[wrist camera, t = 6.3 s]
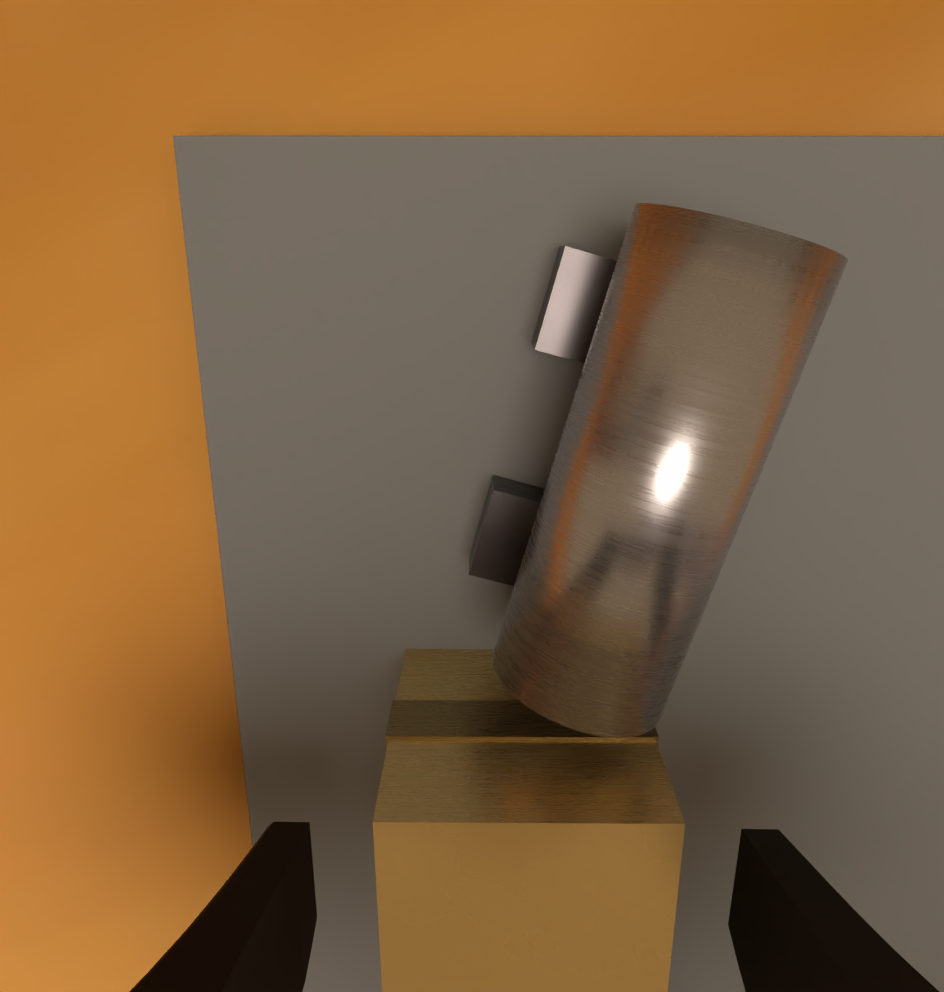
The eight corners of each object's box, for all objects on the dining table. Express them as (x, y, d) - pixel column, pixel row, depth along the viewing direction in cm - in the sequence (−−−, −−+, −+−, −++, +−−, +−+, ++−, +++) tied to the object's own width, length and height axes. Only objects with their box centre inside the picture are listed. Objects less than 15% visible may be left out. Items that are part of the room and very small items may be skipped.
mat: (1176, 142, 12) (1210, 136, 11) (925, 1067, 19) (939, 1092, 18) (187, 140, 12) (173, 135, 12) (285, 1057, 19) (279, 1082, 18)
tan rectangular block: (626, 647, 14) (689, 820, 10) (614, 828, 16) (664, 1051, 11) (403, 646, 14) (368, 818, 10) (409, 826, 16) (382, 1047, 11)
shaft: (654, 623, 15) (719, 765, 11) (460, 574, 15) (452, 701, 11) (792, 269, 13) (939, 279, 9) (568, 203, 12) (610, 181, 8)
